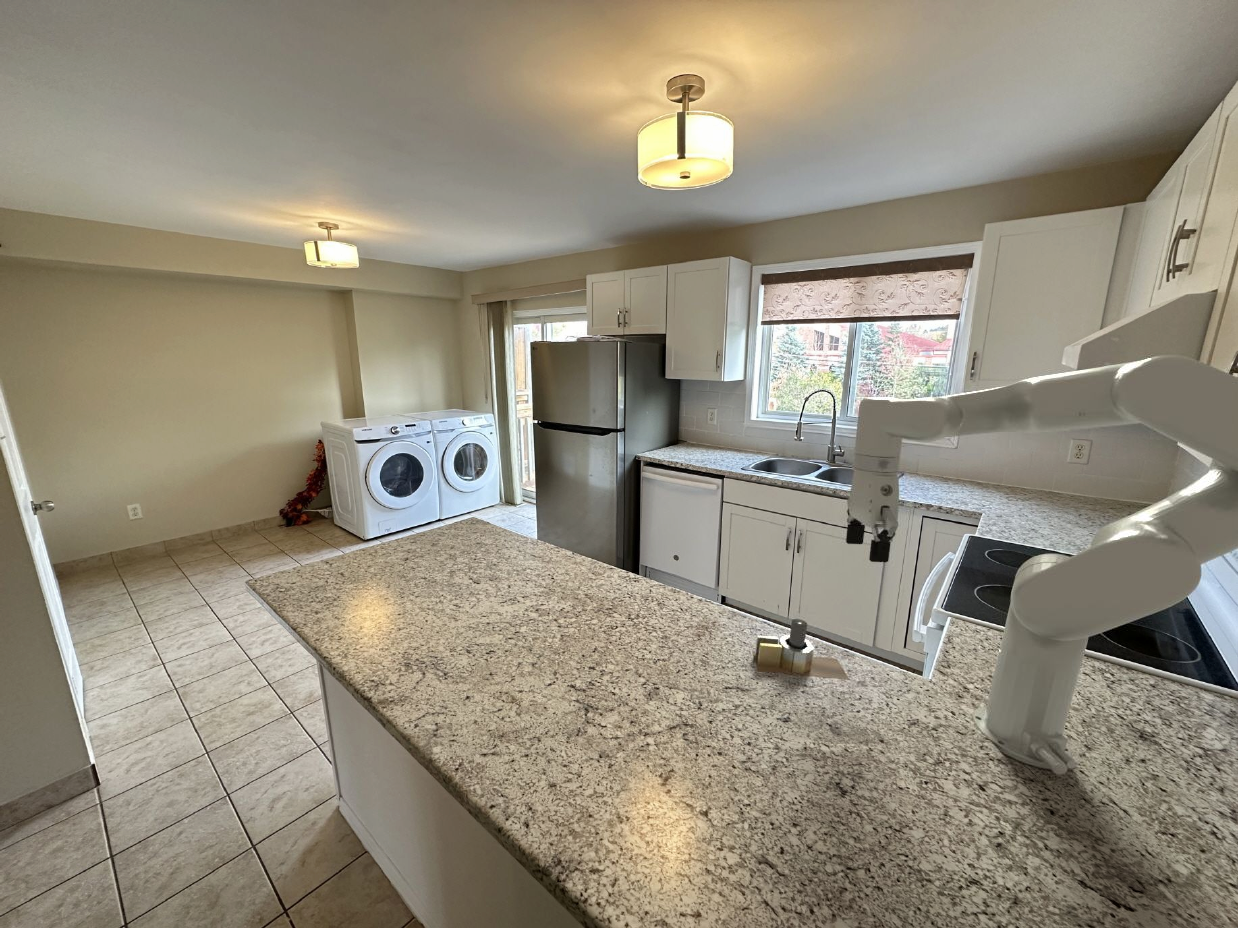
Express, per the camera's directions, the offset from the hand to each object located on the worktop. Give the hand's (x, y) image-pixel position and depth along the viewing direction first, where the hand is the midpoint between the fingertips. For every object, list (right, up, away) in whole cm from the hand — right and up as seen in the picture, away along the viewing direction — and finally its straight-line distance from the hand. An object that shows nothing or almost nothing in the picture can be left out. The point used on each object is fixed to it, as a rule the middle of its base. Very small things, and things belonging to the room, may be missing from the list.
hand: (865, 552), depth 92 cm
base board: (-12, -23, +3) cm, 26 cm away
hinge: (-15, -22, +3) cm, 27 cm away
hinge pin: (-13, -23, +3) cm, 26 cm away
